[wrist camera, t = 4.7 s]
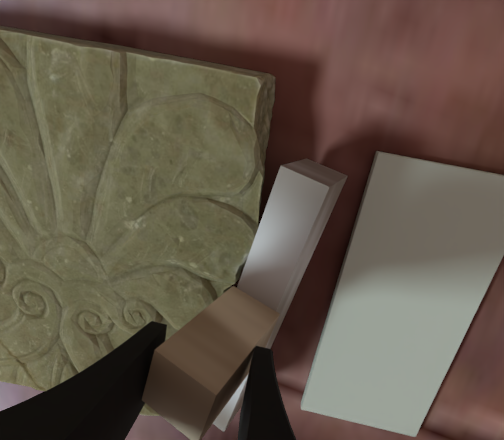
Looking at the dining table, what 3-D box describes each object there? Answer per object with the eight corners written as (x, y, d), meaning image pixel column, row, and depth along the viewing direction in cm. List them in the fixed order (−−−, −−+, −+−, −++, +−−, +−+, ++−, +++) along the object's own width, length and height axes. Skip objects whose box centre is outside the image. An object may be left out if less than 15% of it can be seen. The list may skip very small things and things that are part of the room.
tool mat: (412, 429, 21) (415, 437, 20) (300, 402, 21) (300, 409, 21) (531, 180, 15) (538, 182, 15) (376, 150, 16) (378, 152, 15)
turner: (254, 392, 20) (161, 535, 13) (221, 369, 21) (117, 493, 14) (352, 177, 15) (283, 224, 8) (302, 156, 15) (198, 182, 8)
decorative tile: (-24, 335, 24) (-76, 373, 21) (-77, 13, 17) (-168, -8, 14) (233, 395, 23) (222, 446, 19) (291, 72, 16) (289, 65, 12)
